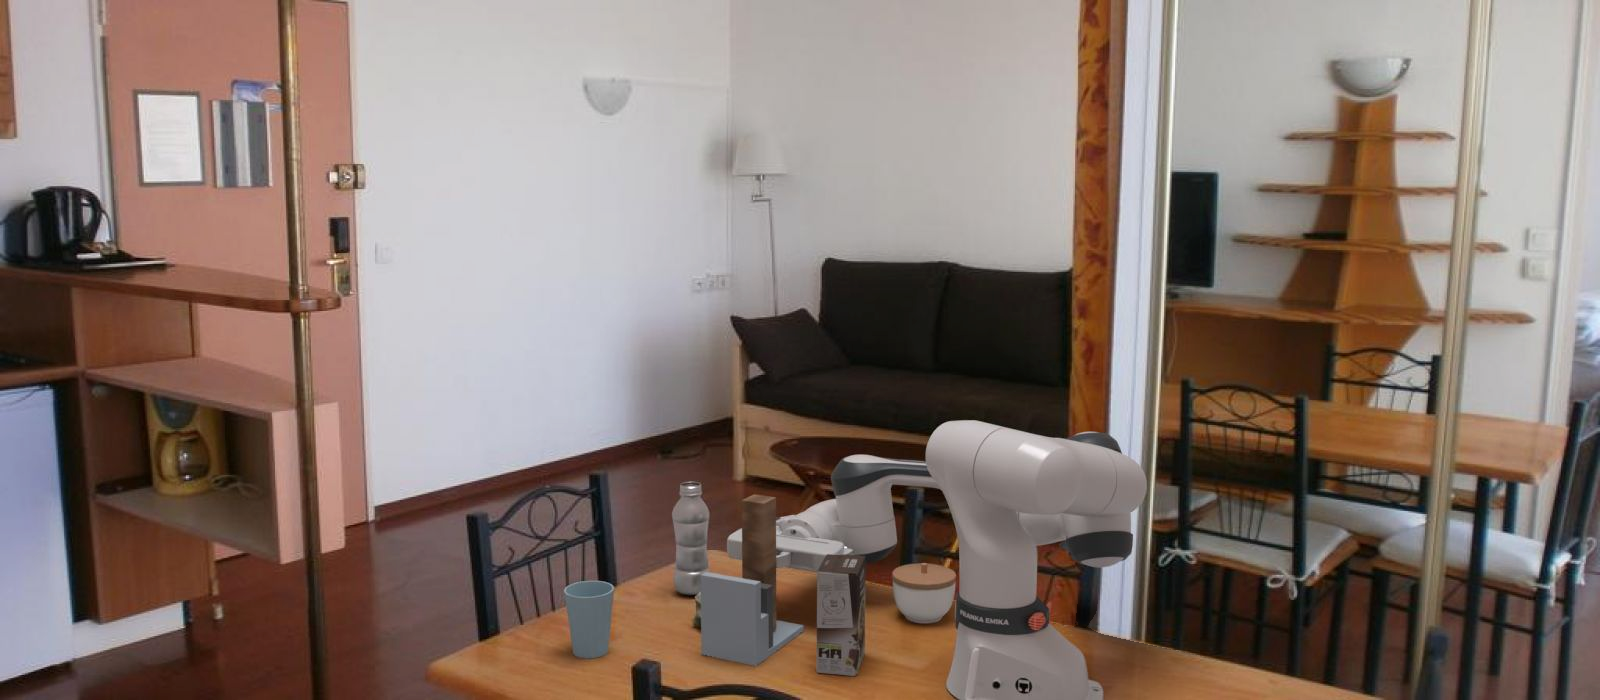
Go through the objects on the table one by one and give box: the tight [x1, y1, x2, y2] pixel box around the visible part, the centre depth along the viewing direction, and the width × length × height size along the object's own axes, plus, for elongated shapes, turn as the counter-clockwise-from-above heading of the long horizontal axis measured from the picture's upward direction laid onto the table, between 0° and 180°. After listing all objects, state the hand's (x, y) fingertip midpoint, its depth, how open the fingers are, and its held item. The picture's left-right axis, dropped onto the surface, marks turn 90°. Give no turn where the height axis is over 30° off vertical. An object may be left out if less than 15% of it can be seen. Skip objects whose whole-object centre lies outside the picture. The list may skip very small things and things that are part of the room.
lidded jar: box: [891, 562, 957, 625], centre depth 211 cm, size 11×11×9 cm
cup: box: [563, 580, 615, 659], centre depth 196 cm, size 8×8×10 cm
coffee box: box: [815, 554, 867, 677], centre depth 192 cm, size 9×6×16 cm
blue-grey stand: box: [700, 572, 805, 667], centre depth 200 cm, size 10×16×13 cm, turn 153°
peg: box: [741, 493, 777, 631], centre depth 201 cm, size 4×4×22 cm
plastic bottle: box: [671, 481, 711, 596], centre depth 222 cm, size 6×7×20 cm
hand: (763, 564), depth 203 cm, fingers closed, pressing on peg
